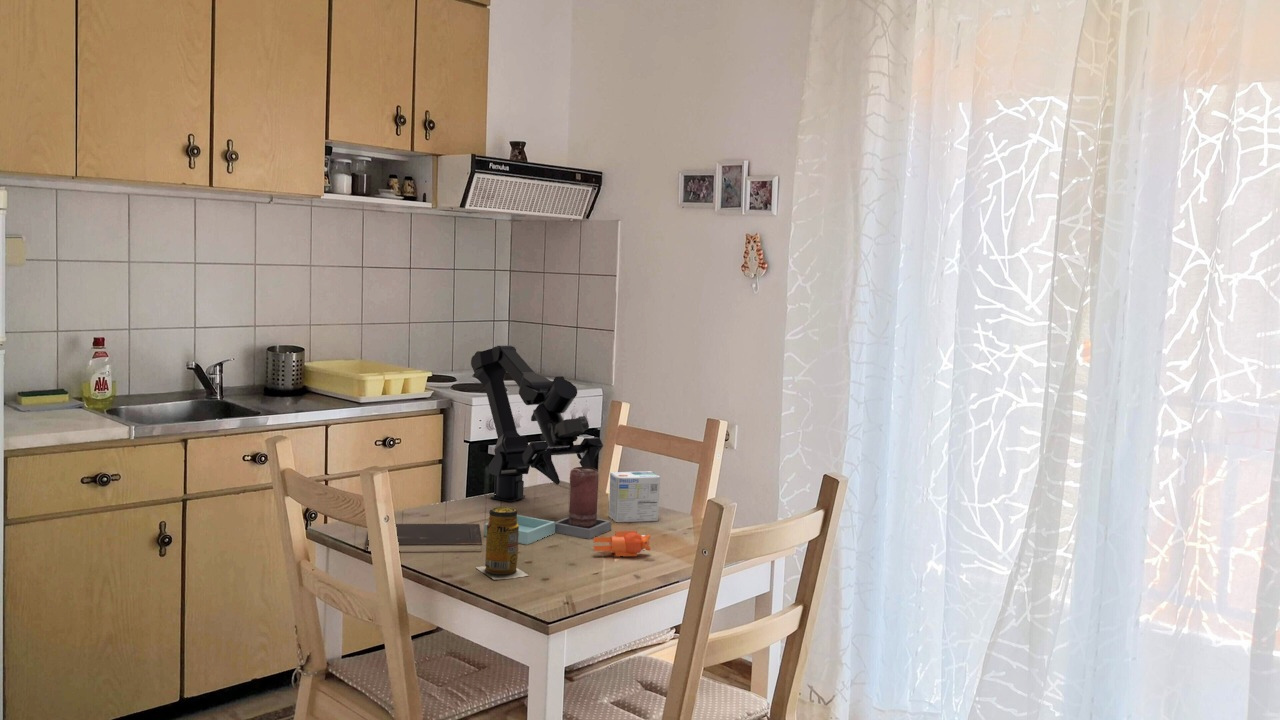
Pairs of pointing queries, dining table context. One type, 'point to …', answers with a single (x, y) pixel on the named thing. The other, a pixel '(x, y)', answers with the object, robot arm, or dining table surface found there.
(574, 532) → the grey square tray
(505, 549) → the condiment
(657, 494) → the light bulb box
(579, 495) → the can
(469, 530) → the hardcover book
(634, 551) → the orange toy figure
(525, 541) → the tray
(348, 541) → the dining table surface
